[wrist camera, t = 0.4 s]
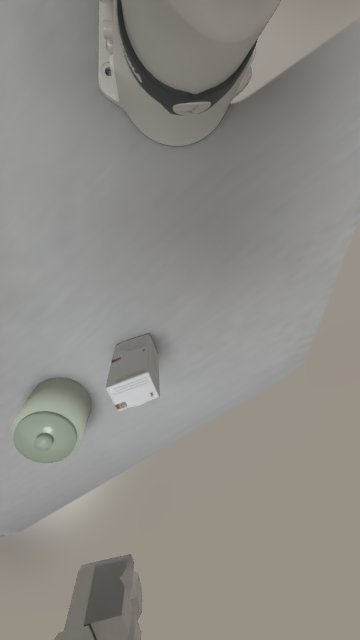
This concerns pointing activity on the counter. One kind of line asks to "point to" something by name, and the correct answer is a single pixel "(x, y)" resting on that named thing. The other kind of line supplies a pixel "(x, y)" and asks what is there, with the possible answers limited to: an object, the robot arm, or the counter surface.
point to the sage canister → (52, 421)
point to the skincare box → (134, 373)
